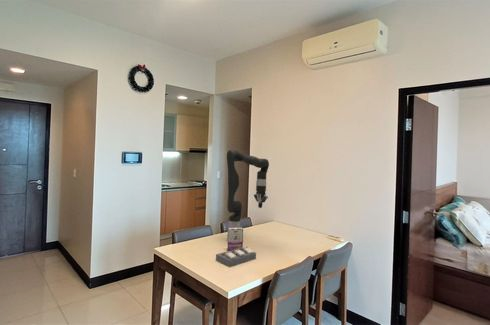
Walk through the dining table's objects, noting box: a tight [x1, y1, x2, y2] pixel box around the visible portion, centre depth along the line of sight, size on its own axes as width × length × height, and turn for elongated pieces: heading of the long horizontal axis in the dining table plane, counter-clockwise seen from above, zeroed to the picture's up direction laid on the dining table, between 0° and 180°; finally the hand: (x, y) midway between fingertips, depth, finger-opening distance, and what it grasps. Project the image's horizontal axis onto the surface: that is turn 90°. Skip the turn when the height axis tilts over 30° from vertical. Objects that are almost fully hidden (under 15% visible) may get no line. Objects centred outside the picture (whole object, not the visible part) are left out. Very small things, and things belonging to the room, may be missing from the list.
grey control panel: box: [215, 247, 257, 268], centre depth 186 cm, size 14×24×4 cm, turn 134°
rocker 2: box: [234, 249, 245, 256], centre depth 184 cm, size 6×4×2 cm, turn 44°
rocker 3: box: [243, 246, 254, 254], centre depth 190 cm, size 6×4×2 cm, turn 44°
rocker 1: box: [225, 251, 236, 259], centre depth 179 cm, size 6×4×2 cm, turn 44°
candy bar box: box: [226, 227, 244, 251], centre depth 205 cm, size 11×5×16 cm, turn 101°
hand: (260, 207), depth 208 cm, fingers closed
